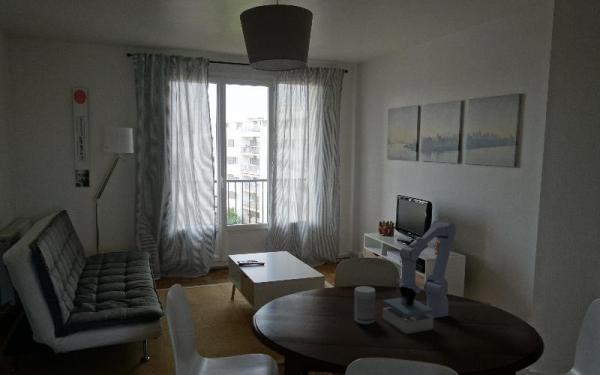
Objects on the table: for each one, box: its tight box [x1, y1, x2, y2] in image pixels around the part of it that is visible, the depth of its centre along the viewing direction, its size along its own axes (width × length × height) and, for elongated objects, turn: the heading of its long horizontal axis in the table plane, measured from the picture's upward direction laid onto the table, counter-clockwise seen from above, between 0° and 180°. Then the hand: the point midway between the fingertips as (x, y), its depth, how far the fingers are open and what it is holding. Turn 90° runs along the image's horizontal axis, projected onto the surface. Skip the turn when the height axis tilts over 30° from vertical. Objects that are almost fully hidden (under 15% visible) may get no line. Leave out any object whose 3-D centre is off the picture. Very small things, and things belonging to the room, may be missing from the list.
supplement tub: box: [353, 285, 377, 325], centre depth 204 cm, size 10×10×15 cm
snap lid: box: [383, 296, 434, 317], centre depth 201 cm, size 14×18×6 cm
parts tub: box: [382, 306, 434, 335], centre depth 201 cm, size 14×18×5 cm
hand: (407, 303), depth 201 cm, fingers closed on snap lid, 2 cm apart
